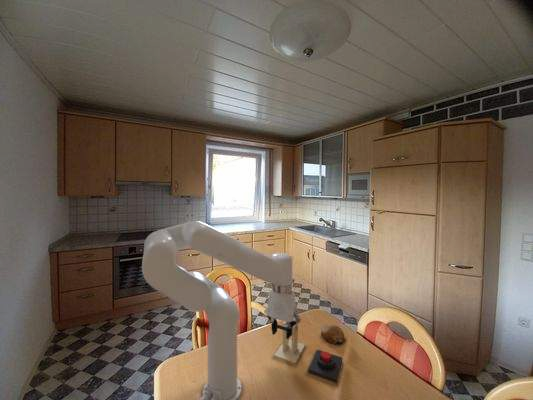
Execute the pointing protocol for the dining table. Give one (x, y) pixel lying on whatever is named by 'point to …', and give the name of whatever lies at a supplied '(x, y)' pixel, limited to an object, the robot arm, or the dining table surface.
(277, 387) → the dining table surface
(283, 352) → the toaster bracket
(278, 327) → the toaster lever
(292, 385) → the dining table surface
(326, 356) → the button
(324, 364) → the control block
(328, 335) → the bread roll
